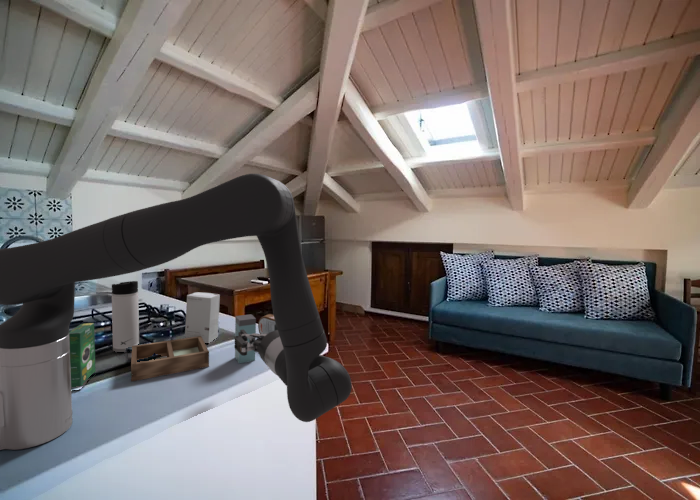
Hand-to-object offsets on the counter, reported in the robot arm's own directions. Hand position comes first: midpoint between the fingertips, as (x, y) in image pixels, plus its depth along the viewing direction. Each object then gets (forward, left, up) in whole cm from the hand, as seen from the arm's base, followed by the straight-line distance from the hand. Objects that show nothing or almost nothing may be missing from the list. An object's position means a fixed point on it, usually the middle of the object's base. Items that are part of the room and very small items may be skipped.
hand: (259, 330), depth 81 cm
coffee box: (-36, +15, -12) cm, 41 cm away
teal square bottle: (0, +11, -12) cm, 16 cm away
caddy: (-18, +17, -12) cm, 28 cm away
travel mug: (-28, +33, -12) cm, 45 cm away
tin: (+12, +19, -12) cm, 26 cm away
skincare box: (-8, +31, -12) cm, 35 cm away
